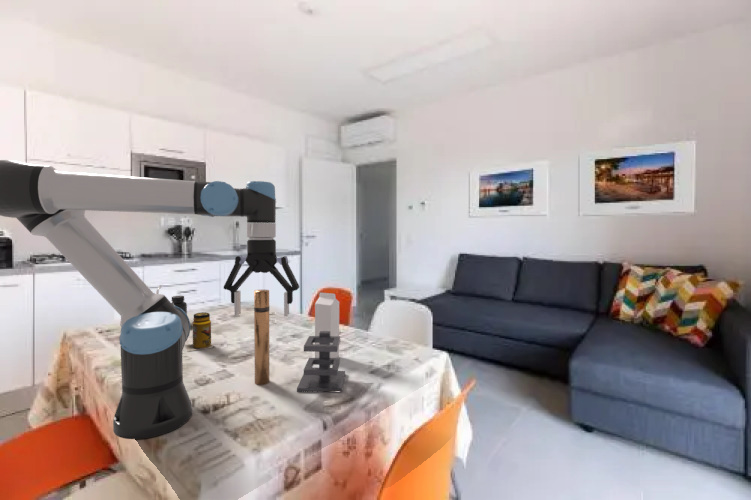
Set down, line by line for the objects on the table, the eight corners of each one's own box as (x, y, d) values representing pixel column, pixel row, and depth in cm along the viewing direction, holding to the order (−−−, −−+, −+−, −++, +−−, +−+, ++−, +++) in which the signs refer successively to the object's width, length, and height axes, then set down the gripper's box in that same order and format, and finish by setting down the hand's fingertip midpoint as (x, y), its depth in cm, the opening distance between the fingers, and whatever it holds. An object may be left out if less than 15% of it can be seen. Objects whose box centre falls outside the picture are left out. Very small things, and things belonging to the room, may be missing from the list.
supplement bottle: (170, 322, 164) (169, 295, 164) (187, 320, 167) (187, 294, 166) (168, 326, 158) (168, 298, 157) (186, 324, 161) (186, 297, 160)
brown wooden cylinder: (267, 385, 102) (267, 292, 101) (252, 384, 102) (251, 292, 101) (271, 378, 107) (271, 289, 105) (257, 378, 107) (256, 289, 105)
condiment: (213, 347, 132) (213, 314, 132) (187, 351, 128) (186, 317, 127) (210, 342, 138) (209, 310, 138) (184, 345, 134) (184, 313, 133)
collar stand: (342, 392, 99) (342, 344, 98) (296, 391, 99) (297, 344, 98) (345, 374, 111) (345, 331, 110) (305, 373, 111) (305, 331, 110)
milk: (323, 354, 127) (323, 290, 126) (339, 356, 125) (339, 292, 124) (314, 360, 122) (314, 293, 120) (330, 362, 120) (331, 295, 118)
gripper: (309, 238, 106) (309, 312, 107) (221, 237, 105) (222, 311, 107) (304, 239, 98) (304, 318, 100) (210, 238, 98) (211, 317, 99)
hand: (262, 315), depth 103 cm, fingers open, 13 cm apart
